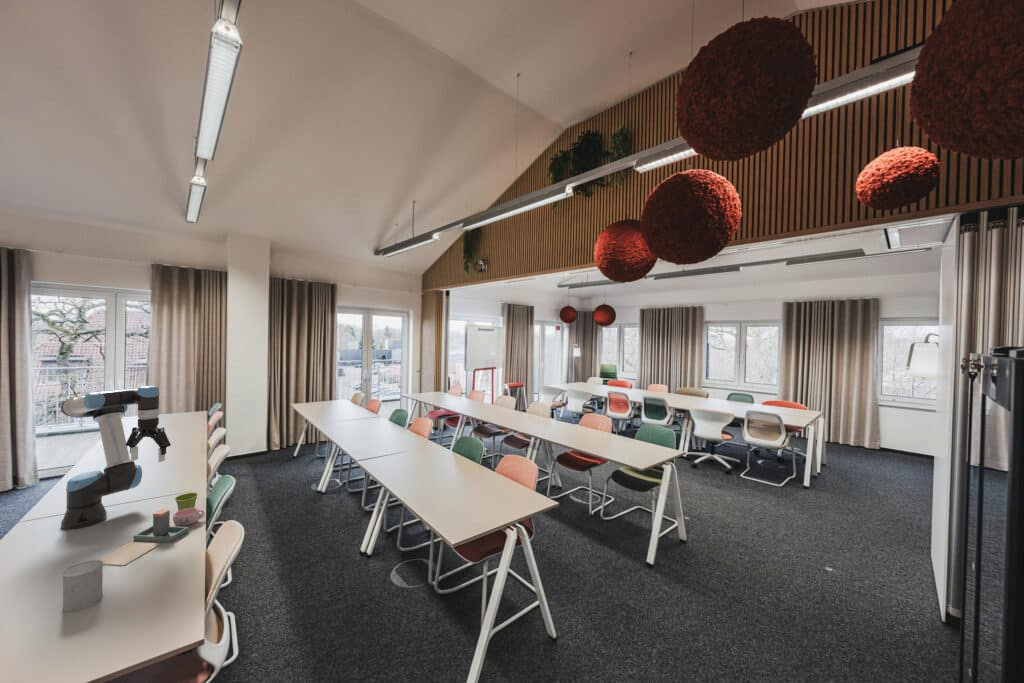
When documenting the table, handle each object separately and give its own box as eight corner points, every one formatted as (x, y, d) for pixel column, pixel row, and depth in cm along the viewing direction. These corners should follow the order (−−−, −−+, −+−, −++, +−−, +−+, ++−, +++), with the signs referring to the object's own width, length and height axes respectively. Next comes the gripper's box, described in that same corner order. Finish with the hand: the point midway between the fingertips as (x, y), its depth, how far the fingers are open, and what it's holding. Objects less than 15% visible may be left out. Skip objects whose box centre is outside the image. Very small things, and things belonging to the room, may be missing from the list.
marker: (152, 537, 177) (153, 513, 177) (161, 533, 181) (161, 509, 181) (161, 538, 177) (161, 514, 177) (169, 533, 181) (169, 509, 181)
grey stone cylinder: (82, 593, 141) (82, 560, 140) (110, 592, 142) (110, 559, 141) (53, 612, 131) (53, 577, 131) (84, 611, 132) (84, 576, 132)
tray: (133, 541, 175) (133, 535, 175) (152, 530, 184) (153, 525, 184) (170, 542, 175) (170, 537, 174) (188, 532, 184) (188, 527, 184)
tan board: (91, 564, 157) (91, 563, 157) (130, 542, 173) (130, 541, 173) (124, 565, 157) (124, 564, 157) (161, 544, 173) (161, 543, 173)
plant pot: (184, 518, 197) (184, 501, 197) (169, 515, 199) (169, 499, 199) (202, 509, 206) (202, 493, 206) (188, 507, 208) (188, 491, 208)
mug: (172, 530, 185) (172, 518, 184) (173, 522, 192) (173, 510, 192) (204, 523, 192) (204, 511, 192) (203, 515, 200) (203, 504, 200)
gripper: (115, 418, 185) (115, 462, 185) (166, 420, 184) (166, 464, 185) (131, 415, 192) (131, 457, 193) (180, 416, 192) (179, 459, 192)
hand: (148, 460), depth 189 cm, fingers open, 13 cm apart
